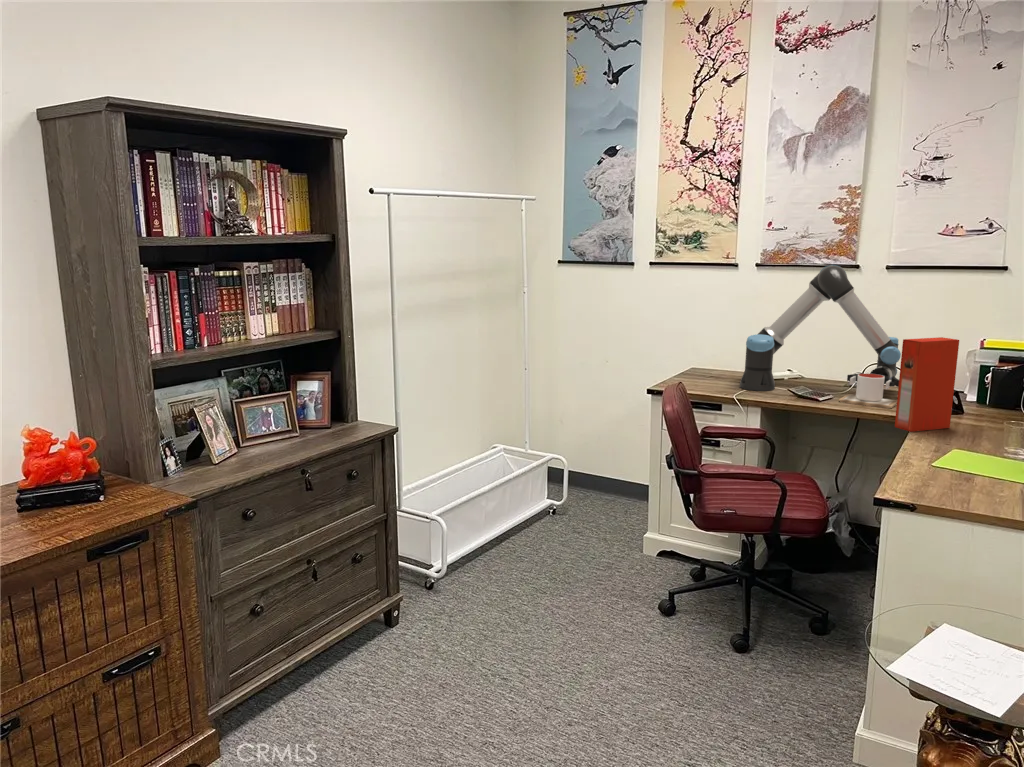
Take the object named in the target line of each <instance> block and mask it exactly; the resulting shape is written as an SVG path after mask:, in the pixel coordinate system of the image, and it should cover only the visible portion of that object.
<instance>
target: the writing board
mask: <svg viewBox="0 0 1024 767" xmlns="http://www.w3.org/2000/svg"><path fill="white" fill-rule="evenodd" d="M838 401H840V402H839V403H841V402H845V403H844V404H849V403H851V404H850V405H857V404H858V405H859V406H865V405H866V407H872V406H873V407H874V408H880V407H883V408H882V409H888V408H892V407H893V408H894V407H895V406H897V405H896V404H897V399H896V400H895V399H890V398H882V400H880V401H875V402H871V401H863V400H859V399H858V398H857V397H856V394H849V393H848V394H846V395H844V396H843V397H841V398H839V399H838ZM893 408H892V409H893Z"/></svg>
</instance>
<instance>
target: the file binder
mask: <svg viewBox="0 0 1024 767" xmlns="http://www.w3.org/2000/svg"><path fill="white" fill-rule="evenodd" d="M901 346H902V347H901V357H900V366H899V367H900V368H899V377H898V380H899V387H897V388H898V390H897V397H896V398H897V399H896V400H897V405H896V408H895V409H896V410H895V421H894V428H897V429H900V430H904V431H908V432H910V433H912V432H913V433H914V432H920V431H921V432H922V431H931V430H932V431H933V430H942V429H944V430H945V429H950V428H951V419H952V410H953V403H954V402H953V401H954V393H955V382H956V376H957V374H956V373H957V365H958V357H959V349H960V348H959V347H960V339H957V338H956V339H955V338H950V337H944V336H943V337H942V336H941V337H939V336H938V337H922V338H905V339H904V338H903V339H902V345H901Z"/></svg>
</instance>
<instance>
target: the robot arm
mask: <svg viewBox="0 0 1024 767" xmlns="http://www.w3.org/2000/svg"><path fill="white" fill-rule="evenodd" d="M830 300H832V301H833V303H836V304H838V305H839V306H840V308H841V309H842V310H843V311H844V313H845V314H846V315H847V316H848V317H849V319H850V320H851V322H852V323H853V324H854V325H855V327H856V328H857V330H859V332H860V333H861V335H862V336H863V337H864V338H865V340H866V341H867V342H868V344H869V345H870V347H872V348H873V351H875V353H876V354H877V359H876V360H877V361H876V362H877V363H876V368H874V369H872V370H871V372H870V373H869V374H877V375H882V376H884V377H885V379H884V385H885V386H884V387H885V388H884V389H885V390H888V389H889V388H891V387H895V386H896V387H897V388H898V387H899V378H897V377H896V376H897V375H898V368H897V363H898V362H900V360H901V356H902V352H901V351H900V349H899V345H900V344H899V339H898V337H896V336H889V335H888V334H887V333H886V331H885V330H884V329H883V327H882V326H881V325H880V324H879V323H878V321H877V320H876V319H875V318H874V316H873V315H872V314H871V312H870V311H869V309H868V308H867V307H866V306H865V304H864V303H863V302H862V301H861V299H860V298H859V297H858V296H857V295H856V292H855V287H854V286H853V285H852V283H851V282H850V280H849V278H848V275H847V272H846V270H845V269H844V268H843V267H841V266H840V265H837V264H830V265H829V264H828V265H826V266H824V267H822V268H821V269H820V271H819V272H818V274H816V275H815V276H814V277H813V279H811V280H810V281H809V283H808V288H807V289H806V290H805V291H804V292H803V293H802V294H801V295H800V296H799V297H798V298H797V299H796V300H795V301H794V302H793V303H792V304H791V305H790V306H789V307H788V308H787V309H786V310H785V311H784V312H783V313H782V314H781V315H780V316H779V317H778V318H777V319H776V320H775V321H774V322H773V323H772V324H771V325H769V326H764V327H763V328H762V329H761V330H760V331H759V332H758V333H757V334H751V335H749V336H748V337H746V338H747V339H746V342H745V347H746V348H745V361H744V362H745V364H744V372H743V374H742V376H741V379H740V381H739V388H740V389H743V390H749V391H756V392H758V391H759V392H767V391H774V390H775V388H776V382H775V378H774V375H773V361H774V355H775V354H776V353H777V352H778V350H780V349H781V348H782V346H784V342H785V341H784V340H785V339H786V338H787V337H788V336H789V335H790V334H791V333H792V332H794V330H795V329H796V328H797V327H798V326H799V325H800V324H801V323H803V322H804V321H805V320H806V319H807V318H808V317H809V316H810V315H811V314H812V313H813V312H814V311H815V310H816V309H817V308H818V307H819V306H820V305H821V304H822V303H823V302H826V301H827V302H828V301H830ZM858 374H865V373H864V372H861V373H853V374H847V376H846V377H847V378H846V381H847V382H849V385H851V386H852V385H853V384H855V383H857V378H858Z"/></svg>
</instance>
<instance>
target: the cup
mask: <svg viewBox="0 0 1024 767" xmlns="http://www.w3.org/2000/svg"><path fill="white" fill-rule="evenodd" d="M857 374H858V378H857V382H856V392H855V395H856V397H857V398H858V399H859V400H863V401H871V402H875V401H880V400H882V398H883V397H884V389H885V388H884V387H885V384H884V379H885V377H884V376H882V375H877V374H870V373H864V374H860V373H857ZM883 399H884V398H883Z"/></svg>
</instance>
